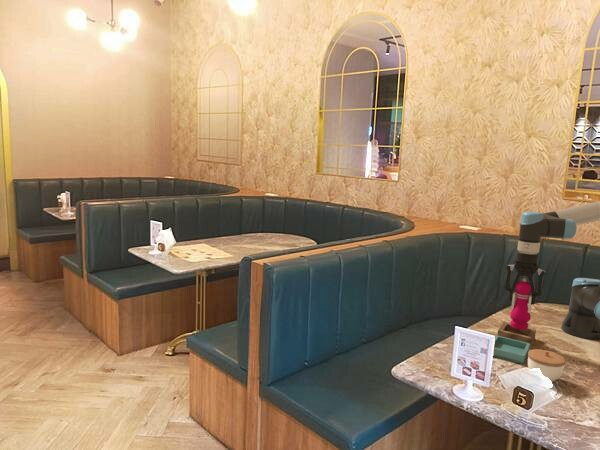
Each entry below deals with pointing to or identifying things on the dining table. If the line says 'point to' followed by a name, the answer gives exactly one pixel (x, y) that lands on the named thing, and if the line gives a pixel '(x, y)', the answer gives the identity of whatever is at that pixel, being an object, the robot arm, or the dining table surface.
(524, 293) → the pepper mill
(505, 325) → the walnut holder
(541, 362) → the lidded jar
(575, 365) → the dining table surface
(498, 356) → the teal tray
